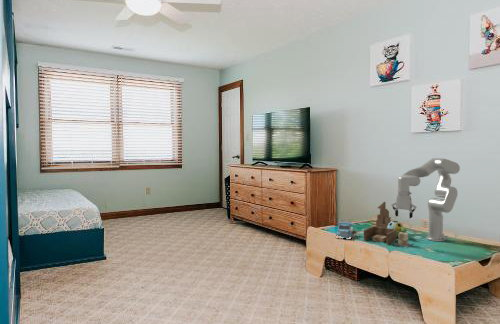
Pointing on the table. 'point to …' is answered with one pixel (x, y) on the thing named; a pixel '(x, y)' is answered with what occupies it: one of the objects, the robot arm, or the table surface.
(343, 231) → the truck
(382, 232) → the slot stand
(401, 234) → the maple block
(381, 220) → the wooden toy
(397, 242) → the mat
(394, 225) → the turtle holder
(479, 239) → the table surface
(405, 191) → the robot arm
